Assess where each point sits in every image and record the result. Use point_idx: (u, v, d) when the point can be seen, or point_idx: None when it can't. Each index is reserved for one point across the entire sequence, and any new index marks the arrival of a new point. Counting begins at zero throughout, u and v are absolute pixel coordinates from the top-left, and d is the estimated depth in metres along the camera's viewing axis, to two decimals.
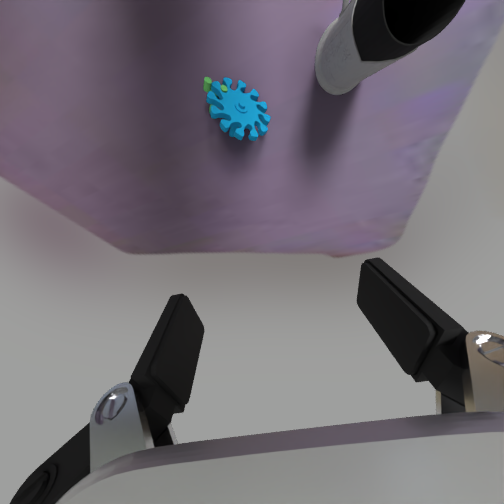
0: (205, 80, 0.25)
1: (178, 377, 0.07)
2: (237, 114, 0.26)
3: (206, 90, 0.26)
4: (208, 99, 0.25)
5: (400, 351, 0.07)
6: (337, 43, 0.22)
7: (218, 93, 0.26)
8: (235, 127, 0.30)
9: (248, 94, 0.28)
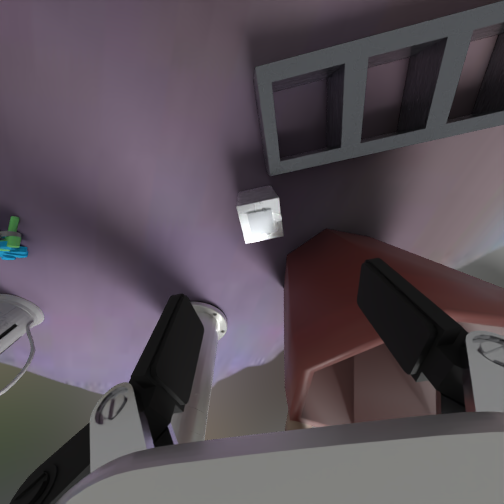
0: (11, 245, 0.24)
1: (178, 377, 0.07)
2: None
3: (8, 237, 0.24)
4: None
5: (400, 351, 0.07)
6: None
7: None
8: None
9: (1, 256, 0.26)
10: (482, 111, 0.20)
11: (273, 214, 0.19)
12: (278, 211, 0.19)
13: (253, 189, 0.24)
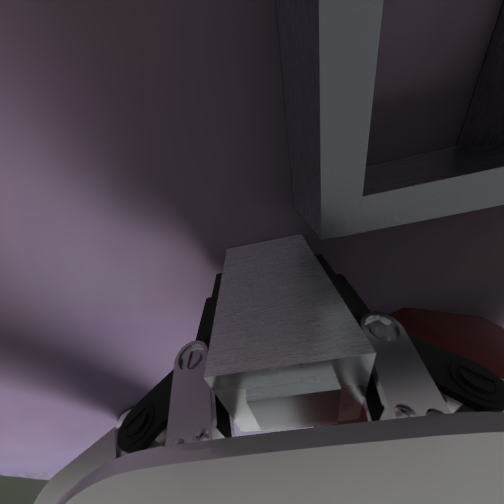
0: None
1: None
2: None
3: None
4: None
5: None
6: None
7: None
8: None
9: None
10: None
11: (341, 387, 0.05)
12: (361, 381, 0.05)
13: (261, 245, 0.10)
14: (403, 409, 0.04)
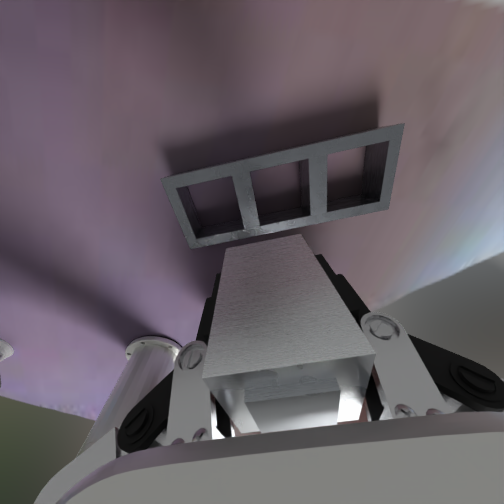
0: None
1: None
2: None
3: None
4: None
5: None
6: None
7: None
8: None
9: None
10: (365, 195, 0.24)
11: (340, 387, 0.05)
12: (361, 382, 0.05)
13: (261, 245, 0.10)
14: (403, 409, 0.04)
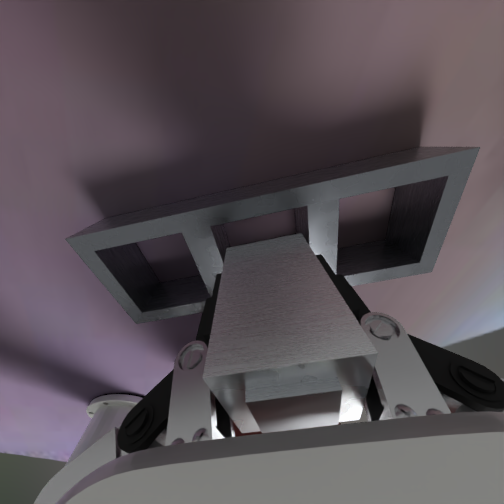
0: None
1: None
2: None
3: None
4: None
5: None
6: None
7: None
8: None
9: None
10: (393, 243, 0.17)
11: (342, 387, 0.05)
12: (362, 382, 0.05)
13: (261, 244, 0.10)
14: (403, 409, 0.04)
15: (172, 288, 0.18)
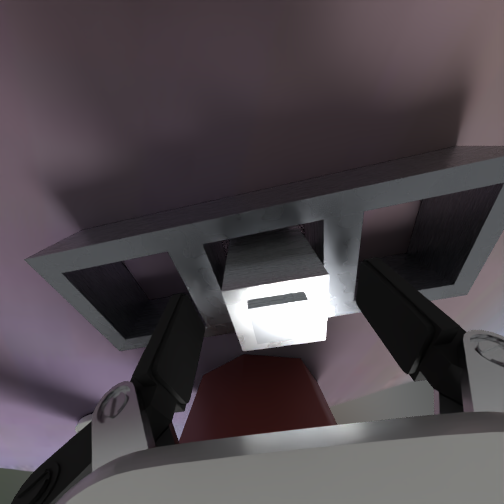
0: None
1: (179, 376, 0.07)
2: None
3: None
4: None
5: (399, 351, 0.07)
6: None
7: None
8: None
9: None
10: (417, 258, 0.14)
11: (310, 305, 0.08)
12: (323, 300, 0.08)
13: None
14: None
15: (162, 308, 0.16)
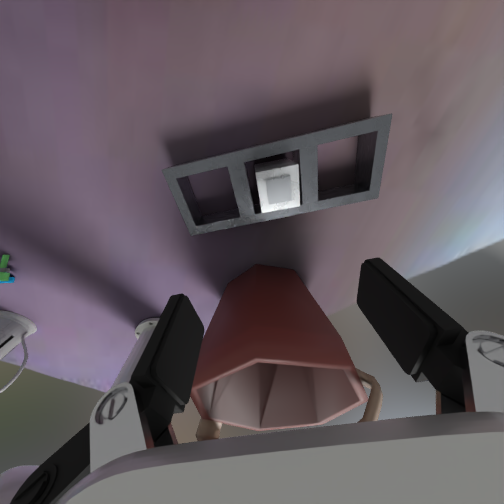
0: (2, 280, 0.30)
1: (178, 377, 0.07)
2: None
3: (0, 274, 0.30)
4: None
5: (400, 352, 0.07)
6: None
7: None
8: None
9: None
10: (357, 184, 0.25)
11: (291, 182, 0.19)
12: (297, 179, 0.19)
13: (269, 162, 0.24)
14: None
15: (212, 216, 0.27)
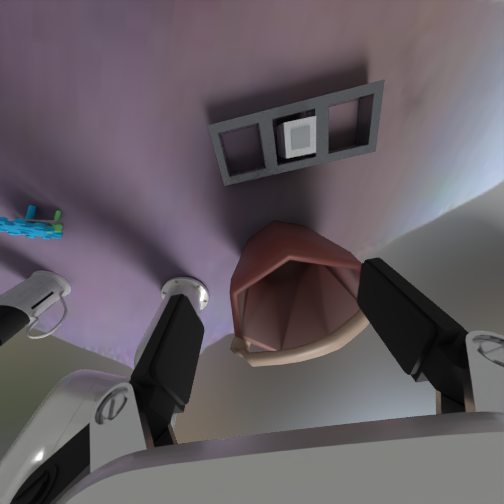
0: (57, 230, 0.35)
1: (178, 377, 0.07)
2: (14, 228, 0.33)
3: (55, 225, 0.35)
4: (36, 225, 0.33)
5: (400, 351, 0.07)
6: (24, 293, 0.39)
7: (46, 228, 0.35)
8: (26, 215, 0.35)
9: (43, 236, 0.38)
10: (358, 143, 0.32)
11: (310, 131, 0.25)
12: (314, 128, 0.25)
13: None
14: None
15: (240, 172, 0.33)
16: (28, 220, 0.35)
